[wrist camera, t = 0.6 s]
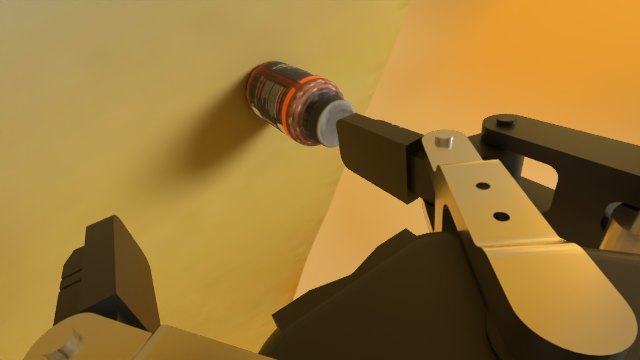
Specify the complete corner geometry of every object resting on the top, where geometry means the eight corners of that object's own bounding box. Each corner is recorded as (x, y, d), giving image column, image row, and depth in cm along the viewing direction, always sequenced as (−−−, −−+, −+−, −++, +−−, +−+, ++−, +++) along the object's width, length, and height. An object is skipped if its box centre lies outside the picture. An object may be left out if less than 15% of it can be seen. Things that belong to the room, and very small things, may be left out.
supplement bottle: (250, 124, 33) (308, 170, 25) (237, 67, 29) (300, 99, 22) (298, 108, 35) (364, 145, 28) (291, 54, 32) (366, 78, 24)
